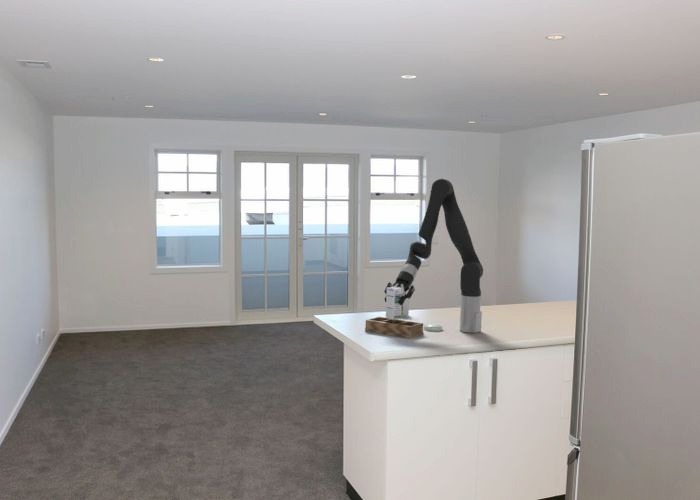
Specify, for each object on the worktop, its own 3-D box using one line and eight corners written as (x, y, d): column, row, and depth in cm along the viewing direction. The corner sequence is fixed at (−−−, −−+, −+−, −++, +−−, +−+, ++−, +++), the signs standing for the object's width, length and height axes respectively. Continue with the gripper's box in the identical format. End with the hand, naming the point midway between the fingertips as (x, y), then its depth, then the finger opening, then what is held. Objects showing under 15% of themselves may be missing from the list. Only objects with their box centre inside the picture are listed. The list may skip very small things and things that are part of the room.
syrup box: (393, 319, 310) (394, 288, 308) (385, 317, 315) (386, 286, 313) (402, 318, 313) (404, 287, 312) (394, 316, 318) (395, 286, 317)
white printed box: (390, 313, 365) (391, 290, 364) (396, 312, 368) (397, 290, 367) (403, 316, 357) (404, 293, 356) (409, 315, 360) (410, 292, 359)
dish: (445, 329, 326) (445, 325, 325) (436, 332, 318) (436, 328, 318) (429, 327, 331) (429, 323, 331) (420, 330, 323) (420, 325, 323)
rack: (423, 334, 313) (423, 323, 312) (408, 338, 302) (409, 327, 302) (380, 327, 327) (380, 316, 326) (364, 331, 316) (365, 320, 316)
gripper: (391, 268, 322) (377, 295, 314) (417, 272, 314) (403, 299, 305) (396, 278, 327) (382, 305, 319) (422, 282, 319) (409, 309, 310)
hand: (393, 302), depth 312 cm, fingers closed on syrup box, 7 cm apart
